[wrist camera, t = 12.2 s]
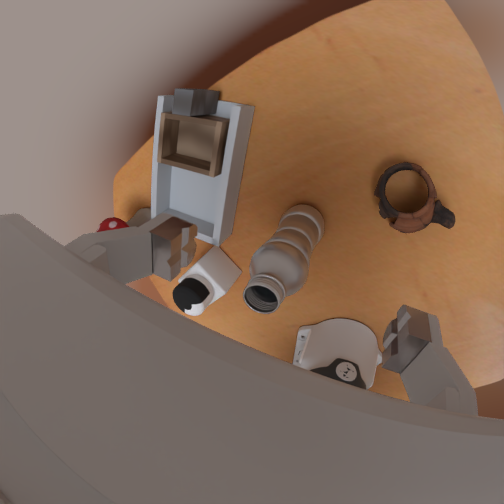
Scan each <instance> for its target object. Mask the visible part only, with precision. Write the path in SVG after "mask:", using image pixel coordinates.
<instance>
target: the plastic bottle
mask: <svg viewBox="0 0 504 504" xmlns="http://www.w3.org/2000/svg"><path fill="white" fill-rule="evenodd" d="M323 234H324V220H323V217H322V215H321V214H320V213H319V211H318V210H316V209H315V208H313V207H312V206H309V205H296V206H293V207H291V208H290V209H288V210H287V211H286V212H285V213H284V214H283V215H282V217H281V220H280V222H279V226H278V229H277V231H276V233H275V234H274V235H273V236H272V237H271V238H270V239H269V240H268V241H267V242H266V243H264V244H263V245H262V246H261V247H260V248H259V249H258V250H257V251H256V252H255V253H254V254H253V256H252V258H251V262H250V270H249V271H250V276H251V279H250V280H249V282H248V285H247V286H246V288H245V289H244V292H243V298H244V301H245V303H246V304H247V306H248V307H249V308H251V309H252V310H254V311H256V312H258V313H262V314H269V313H273V312H275V311H276V310H277V309H278V307H279V306H280V304H281V303H282V301H283V300H284V298H285V297H286V296H290V295H293V294H295V293H296V292H297V291H299V290H300V289H301V288H302V287H303V285H304V284H305V282H306V280H307V277H308V272H309V263H310V258H311V254H312V251H313V249H314V247H315V246H316V245H317V244H318V242H319V241H320V240H321V238H322V237H323Z"/></svg>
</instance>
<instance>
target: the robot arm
mask: <svg viewBox="0 0 504 504" xmlns="http://www.w3.org/2000/svg"><path fill="white" fill-rule="evenodd" d="M197 231H198V227H197V226H196V224H193V223H191V222H188V221H186V220H183V219H181V218H178V217H176V216H173V215H171V214H168V213H161V214H159V215H158V216H156V217H154V218H153V219H151V220H149V221H148V222H146V223H144V224H143V225H141V226H140V227H136V226H134V227H127V228H120V229H114V230H107V231H101V232H95V233H89V234H83V235H82V236H80V237H78V238H77V239H75V240H73V241H72V242H71V243H69V244H67V245H66V246H63V245H61V244H60V243H59V242H57V241H56V240H54V239H53V238H51V237H50V236H48V235H47V234H46V233H44V232H43V231H42V230H40V229H39V228H37V227H36V226H35V225H33V224H32V223H31V222H29V221H28V220H26V219H25V218H24V217H23V216H21V215H19V214H5V215H0V504H504V420H501V419H494V418H486V417H479V416H478V410H477V401H476V393H475V391H474V390H473V388H472V386H471V385H470V383H469V381H468V380H467V378H466V377H465V375H464V374H463V372H462V371H461V369H460V367H459V366H458V364H457V363H456V361H455V360H454V359H453V357H452V356H451V354H450V353H449V351H448V350H447V348H445V347H443V342H442V336H441V331H440V325H439V320H438V318H437V316H435V315H432V314H429V313H426V312H423V311H420V310H417V309H415V308H412V307H409V306H406V305H402V306H401V307H400V309H399V310H398V312H397V318H396V319H394V320H392V321H391V322H390V324H389V325H388V327H387V329H386V331H385V333H384V337H383V346H384V347H385V351H384V352H383V353H381V352H380V350H379V349H378V344H377V339H376V336H375V335H374V333H373V332H372V331H371V330H370V329H369V328H368V327H367V326H365V325H363V324H362V323H359V322H357V321H354V320H349V319H330V320H326V321H323V322H321V323H319V324H316V325H310V326H302V327H300V328H299V331H298V336H297V342H296V348H295V353H294V359H293V364H291V363H288V362H285V361H283V360H280V359H278V358H275V357H273V356H270V355H268V354H266V353H263V352H261V351H258V350H256V349H254V348H251V347H249V346H247V345H244V344H242V343H240V342H238V341H235V340H233V339H231V338H229V337H226V336H224V335H222V334H220V333H218V332H216V331H213V330H211V329H209V328H207V327H205V326H203V325H201V324H199V323H197V322H195V321H193V320H191V319H189V318H187V317H185V316H183V315H181V314H179V313H177V312H175V311H173V310H171V309H169V308H167V307H165V306H163V305H162V304H160V303H158V302H156V301H154V300H152V299H150V298H149V297H147V296H145V295H143V294H141V293H140V292H138V291H136V290H134V289H132V288H131V287H129V286H127V285H125V284H126V283H129V282H132V281H135V280H138V279H141V278H144V277H147V276H150V275H152V274H155V275H157V276H159V277H161V278H164V279H166V280H168V281H170V282H171V281H172V280H173V279H174V278H175V277H176V276H177V275H178V274H179V273H180V268H182V267H186V266H188V265H189V264H190V263H191V261H192V259H193V258H194V255H195V252H196V243H195V241H194V238H195V237H196V236H197ZM381 362H382V366H381V367H382V368H385V369H388V370H391V371H394V372H396V373H399V374H400V376H401V379H402V381H403V384H404V386H405V389H406V392H407V394H408V397H409V399H410V402H408V401H404V400H400V399H396V398H393V397H389V396H385V395H382V394H378V393H375V392H372V391H368V389H369V388H370V387H372V385H373V382H374V377H375V372H376V366H377V365H379V364H380V363H381Z"/></svg>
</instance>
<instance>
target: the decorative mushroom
mask: <svg viewBox="0 0 504 504" xmlns="http://www.w3.org/2000/svg"><path fill="white" fill-rule="evenodd" d="M149 220H151V208H143V209H140V210H138V211H137V212H136V214H135V215H134V216H133V217H132V218H131V219H130V220H129V221H128V222H124V221H123V220H121V219H119V218H115V217H113V218H107V219H105V220H104V221H103V222H102V223H101V224H100V225H99V227H98V229H97V232H101V231H107V230H114V229H120V228H127V227H134V226H136V227H140V226H141V225H143V224H144V223H146V222H148V221H149Z"/></svg>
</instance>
